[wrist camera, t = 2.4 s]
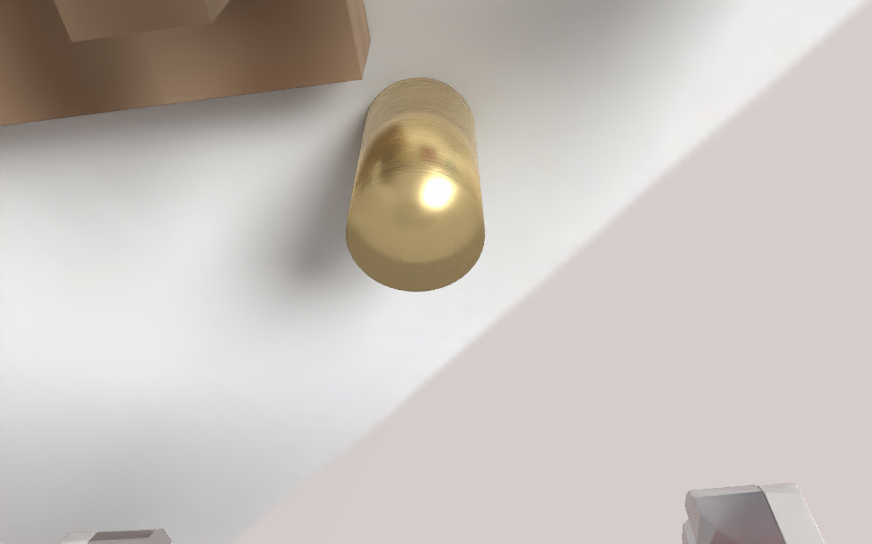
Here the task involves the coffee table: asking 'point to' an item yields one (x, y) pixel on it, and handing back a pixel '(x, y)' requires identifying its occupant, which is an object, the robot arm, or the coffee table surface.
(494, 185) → the coffee table surface
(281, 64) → the dock
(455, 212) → the brass cylinder
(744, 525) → the robot arm
